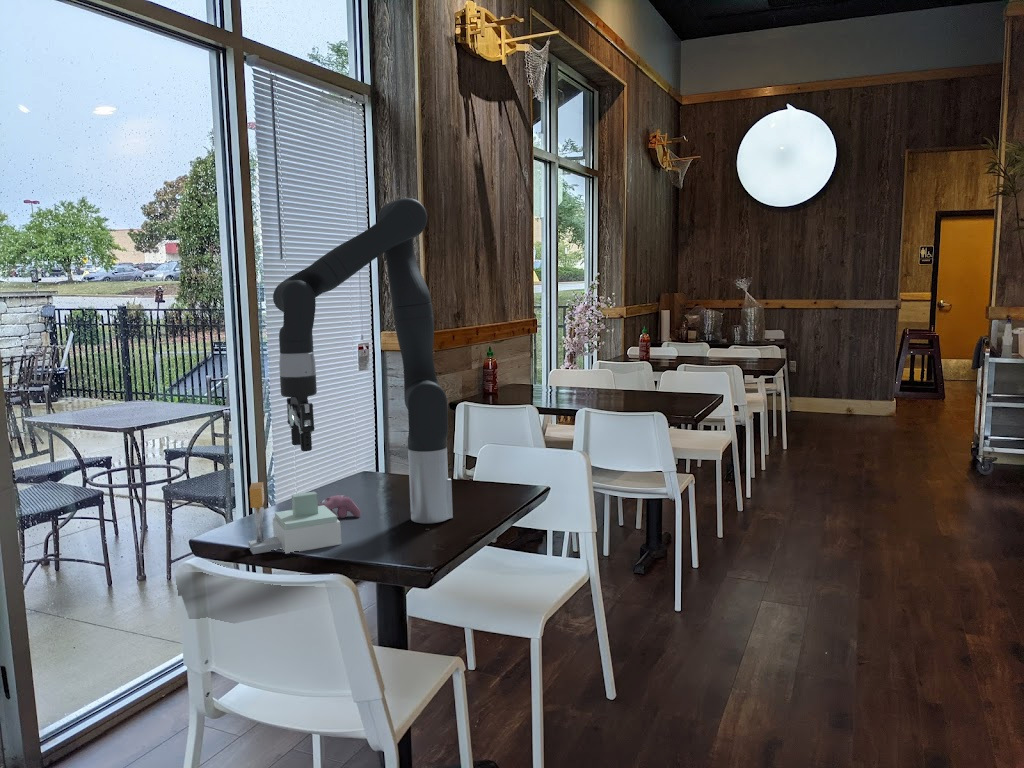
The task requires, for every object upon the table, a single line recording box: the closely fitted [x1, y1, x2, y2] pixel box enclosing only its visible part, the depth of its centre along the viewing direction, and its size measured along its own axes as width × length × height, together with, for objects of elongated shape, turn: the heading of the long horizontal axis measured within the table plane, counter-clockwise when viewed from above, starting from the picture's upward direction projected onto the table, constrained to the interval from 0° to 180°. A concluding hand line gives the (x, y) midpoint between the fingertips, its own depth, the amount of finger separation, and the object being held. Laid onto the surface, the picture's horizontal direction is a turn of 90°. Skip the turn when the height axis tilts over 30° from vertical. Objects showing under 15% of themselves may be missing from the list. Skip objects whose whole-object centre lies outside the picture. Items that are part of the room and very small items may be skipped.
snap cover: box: [274, 491, 338, 530], centre depth 177 cm, size 11×11×6 cm
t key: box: [249, 481, 265, 542], centre depth 174 cm, size 9×2×12 cm, turn 14°
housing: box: [248, 516, 342, 555], centre depth 176 cm, size 18×12×5 cm, turn 118°
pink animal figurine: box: [318, 494, 362, 519], centre depth 194 cm, size 10×5×7 cm, turn 141°
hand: (301, 447), depth 175 cm, fingers open, 8 cm apart
